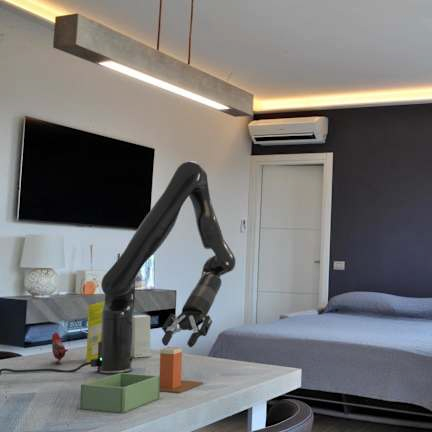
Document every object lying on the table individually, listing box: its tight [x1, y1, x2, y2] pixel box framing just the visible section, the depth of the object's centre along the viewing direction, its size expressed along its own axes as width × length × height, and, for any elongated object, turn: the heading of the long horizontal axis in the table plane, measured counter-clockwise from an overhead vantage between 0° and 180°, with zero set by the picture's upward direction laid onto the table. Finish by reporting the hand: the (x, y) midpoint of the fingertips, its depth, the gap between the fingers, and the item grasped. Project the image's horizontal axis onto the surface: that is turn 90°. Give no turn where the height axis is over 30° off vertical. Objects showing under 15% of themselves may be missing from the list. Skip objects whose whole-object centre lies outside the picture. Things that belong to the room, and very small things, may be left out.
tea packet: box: [159, 346, 183, 389], centre depth 172 cm, size 5×4×11 cm
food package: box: [85, 301, 105, 363], centre depth 212 cm, size 15×1×20 cm, turn 5°
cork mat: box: [159, 379, 204, 394], centre depth 174 cm, size 12×12×1 cm
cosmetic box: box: [131, 314, 151, 358], centre depth 220 cm, size 8×6×15 cm
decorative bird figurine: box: [51, 332, 69, 365], centre depth 203 cm, size 3×18×10 cm, turn 43°
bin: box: [79, 372, 161, 414], centre depth 155 cm, size 13×15×6 cm
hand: (176, 344), depth 175 cm, fingers open, 8 cm apart
